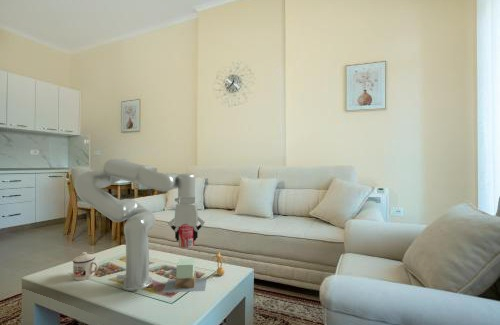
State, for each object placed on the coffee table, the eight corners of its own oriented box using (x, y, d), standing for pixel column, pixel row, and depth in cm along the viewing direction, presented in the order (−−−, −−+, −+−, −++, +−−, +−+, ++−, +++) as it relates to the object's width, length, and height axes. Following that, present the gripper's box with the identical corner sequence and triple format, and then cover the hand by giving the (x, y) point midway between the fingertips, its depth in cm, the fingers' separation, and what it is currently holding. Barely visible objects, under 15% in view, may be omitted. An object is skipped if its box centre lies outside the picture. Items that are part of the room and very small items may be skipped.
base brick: (175, 288, 110) (175, 279, 110) (178, 279, 118) (178, 271, 118) (193, 287, 111) (193, 278, 111) (196, 279, 119) (196, 270, 119)
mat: (161, 293, 107) (161, 292, 107) (168, 280, 119) (168, 279, 119) (204, 291, 109) (204, 290, 109) (206, 278, 120) (206, 277, 120)
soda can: (184, 243, 119) (184, 218, 119) (197, 245, 117) (197, 219, 117) (175, 248, 113) (175, 221, 113) (188, 250, 110) (188, 222, 110)
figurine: (229, 274, 125) (229, 250, 125) (225, 280, 119) (225, 254, 119) (214, 272, 127) (214, 248, 127) (209, 278, 121) (209, 253, 121)
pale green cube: (176, 278, 111) (176, 265, 111) (179, 271, 118) (179, 259, 118) (192, 278, 111) (192, 264, 111) (194, 271, 118) (194, 258, 118)
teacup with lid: (67, 280, 118) (67, 255, 118) (83, 271, 127) (83, 248, 127) (90, 282, 117) (91, 256, 117) (104, 273, 126) (104, 250, 126)
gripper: (164, 202, 110) (164, 243, 110) (205, 201, 112) (205, 242, 112) (168, 199, 117) (168, 237, 118) (206, 199, 119) (206, 237, 119)
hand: (186, 239), depth 115 cm, fingers closed on soda can, 7 cm apart
